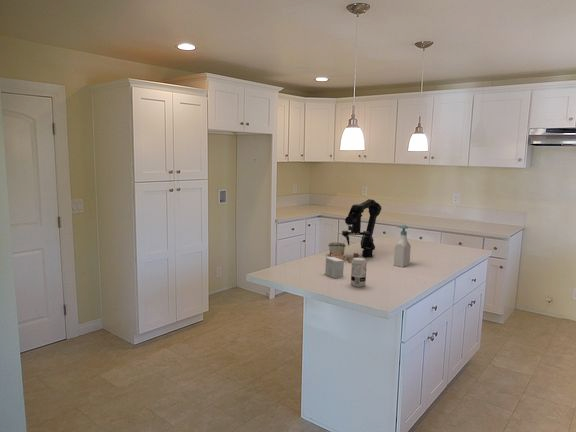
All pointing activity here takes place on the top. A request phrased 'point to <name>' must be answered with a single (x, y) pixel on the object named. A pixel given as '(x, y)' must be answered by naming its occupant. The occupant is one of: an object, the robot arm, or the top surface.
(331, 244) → the food container
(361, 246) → the robot arm
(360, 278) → the supplement can
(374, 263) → the top surface
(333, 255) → the terracotta bowl
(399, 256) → the soap bottle
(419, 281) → the top surface
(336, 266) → the skincare box
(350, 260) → the walnut lid
